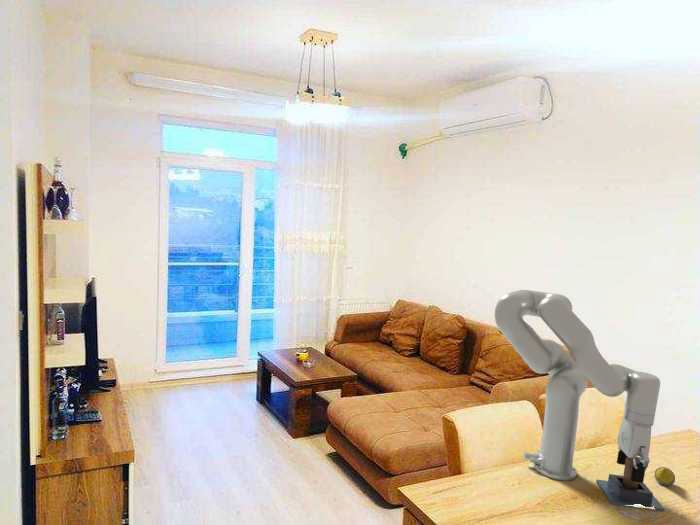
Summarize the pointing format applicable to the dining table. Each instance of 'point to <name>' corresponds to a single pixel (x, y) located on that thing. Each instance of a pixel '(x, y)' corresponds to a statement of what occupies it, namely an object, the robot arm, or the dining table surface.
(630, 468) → the walnut rod
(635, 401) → the robot arm
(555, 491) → the dining table surface
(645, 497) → the grey square peg hole
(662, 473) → the yellow grooved cone part
